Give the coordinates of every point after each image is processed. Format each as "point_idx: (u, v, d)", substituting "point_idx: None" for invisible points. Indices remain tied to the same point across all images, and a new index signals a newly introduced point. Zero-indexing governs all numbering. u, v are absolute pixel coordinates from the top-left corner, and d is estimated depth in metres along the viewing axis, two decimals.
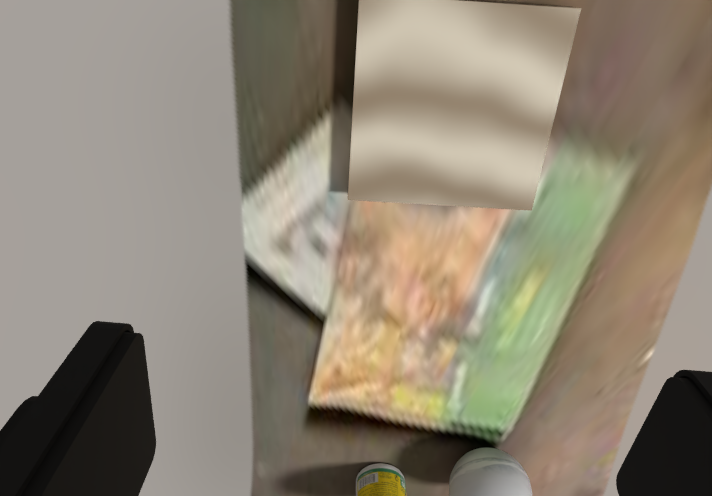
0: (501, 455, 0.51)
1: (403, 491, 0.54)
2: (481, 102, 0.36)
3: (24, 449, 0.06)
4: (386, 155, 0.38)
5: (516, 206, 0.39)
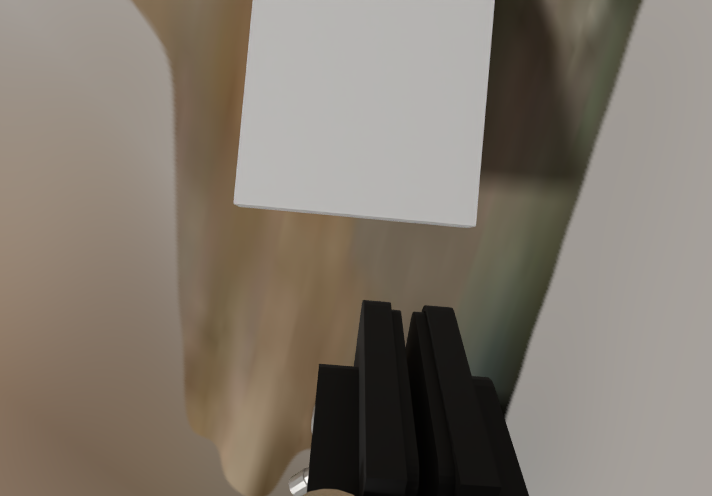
0: None
1: None
2: None
3: (385, 399, 0.07)
4: None
5: None
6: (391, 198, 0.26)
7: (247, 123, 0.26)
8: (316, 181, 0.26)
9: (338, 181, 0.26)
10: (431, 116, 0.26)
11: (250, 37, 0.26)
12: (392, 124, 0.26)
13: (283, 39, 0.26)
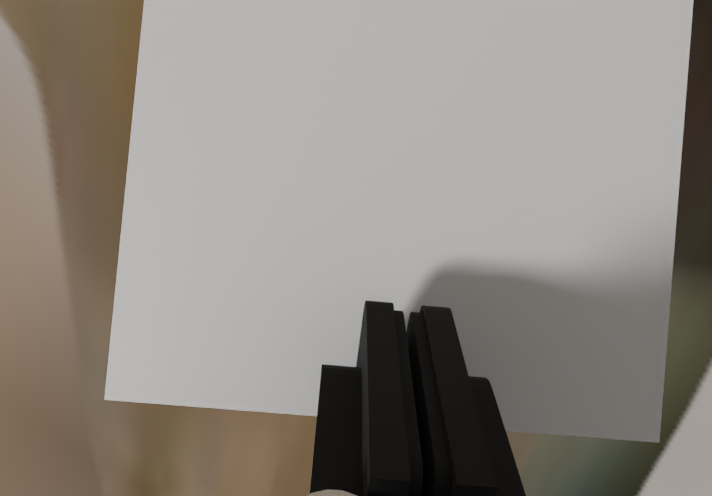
0: None
1: None
2: None
3: (388, 400, 0.07)
4: None
5: None
6: None
7: (138, 212, 0.11)
8: (296, 346, 0.11)
9: (348, 344, 0.11)
10: (558, 193, 0.11)
11: (145, 13, 0.11)
12: (470, 212, 0.11)
13: (222, 18, 0.11)
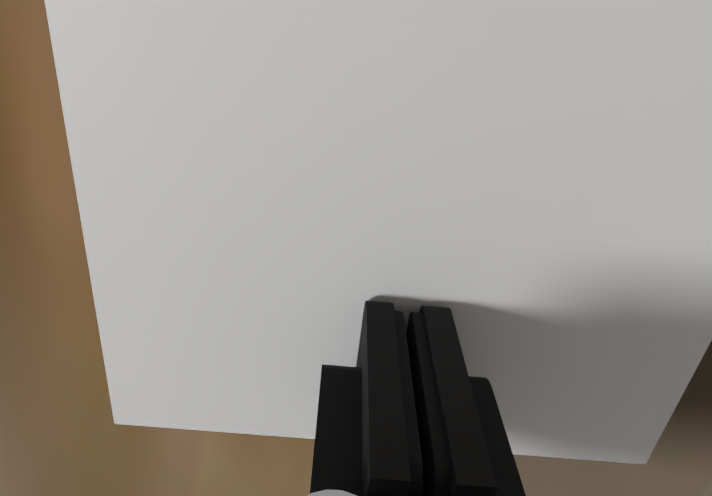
0: None
1: None
2: None
3: (388, 400, 0.07)
4: None
5: None
6: None
7: (106, 269, 0.10)
8: (295, 388, 0.11)
9: None
10: (605, 255, 0.09)
11: (51, 18, 0.08)
12: (493, 273, 0.10)
13: (163, 23, 0.08)
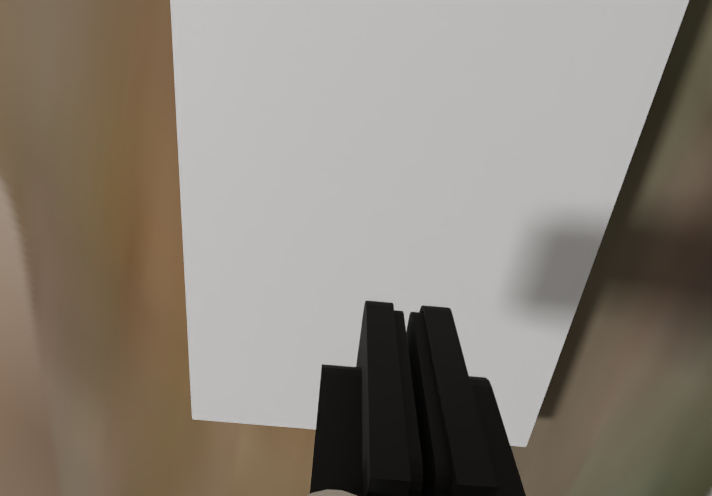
0: None
1: None
2: None
3: (388, 400, 0.07)
4: None
5: None
6: None
7: (197, 328, 0.17)
8: (305, 397, 0.18)
9: None
10: (484, 322, 0.16)
11: (183, 204, 0.15)
12: None
13: (241, 207, 0.15)
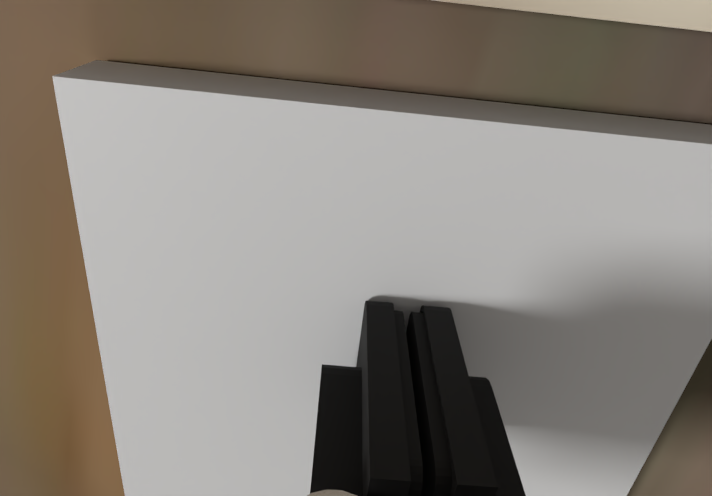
0: None
1: None
2: None
3: (388, 400, 0.07)
4: None
5: None
6: None
7: None
8: None
9: None
10: None
11: (117, 436, 0.12)
12: None
13: (190, 438, 0.12)
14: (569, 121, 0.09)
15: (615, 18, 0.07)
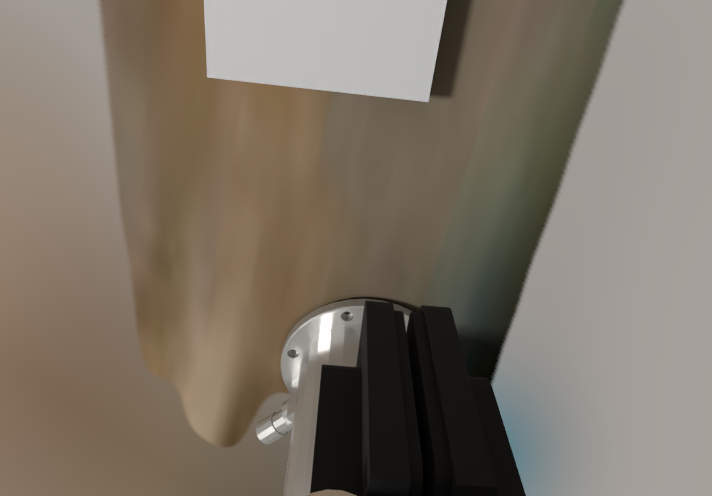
0: None
1: None
2: None
3: (388, 400, 0.07)
4: None
5: None
6: (351, 75, 0.28)
7: None
8: (281, 57, 0.27)
9: (302, 57, 0.27)
10: None
11: None
12: None
13: None
14: None
15: None
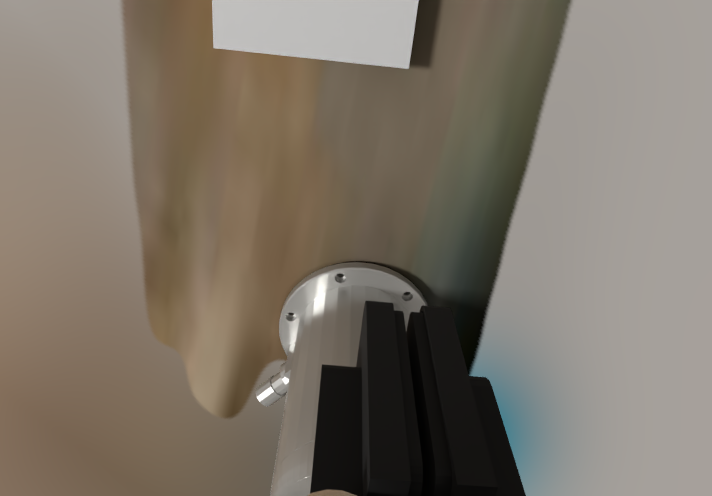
0: None
1: None
2: None
3: (388, 400, 0.07)
4: None
5: None
6: (340, 44, 0.32)
7: None
8: (278, 29, 0.31)
9: (296, 29, 0.31)
10: None
11: None
12: None
13: None
14: None
15: None
